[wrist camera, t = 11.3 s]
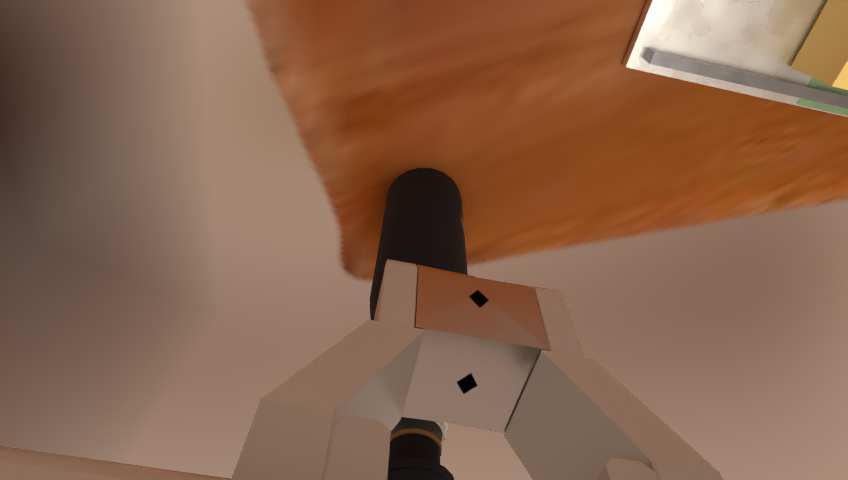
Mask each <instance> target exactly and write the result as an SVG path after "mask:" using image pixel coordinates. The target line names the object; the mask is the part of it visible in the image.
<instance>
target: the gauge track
mask: <svg viewBox="0 0 848 480" xmlns="http://www.w3.org/2000/svg"><path fill="white" fill-rule="evenodd" d="M827 1H828V0H647V1H646V4H645V6H644V9H643V12H642V14H641V17H640V19H639V22H638V24H637V27H636V29H635V32H634V34H633V37H632V39H631V42H630V45H629V47H628V50H627V52H626V55H625V57H624V60H623V62H622V64H623V65H624V66H625V67H627V68H632V69H636V70H641V71H645V72H650V73H654V74H659V75H663V76H667V77H672V78H676V79H681V80H685V81H690V82H694V83H699V84H703V85H707V86H712V87H716V88H721V89H725V90H730V91H734V92H739V93H743V94H747V95H752V96H756V97H761V98H765V99H770V100H774V101H779V102H783V103H787V104H792V105H796V106H801V107H805V108H810V109H814V110H819V111H823V112H828V113H832V114H836V115H841V116H845V117H848V90H845V89H841V88H837V87H832V86H830V85H828V84H826V83H823V82H821V81H819V80H817V79H815V78H813V77H810V76H808V75H806V74H804V73H802V72H800V71H798V70H795V69H793V68H791V65H792V63H793V62H794V60H795V58H796V56H797V55H798V53H799V51H800V49H801V47H802V46H803V44H804V42H805V40H806V38H807V37H808V35H809V33H810V31H811V29H812V28H813V26H814V24H815V22H816V20H817V19H818V17H819V15H820V13H821V12H822V10H823V8H824V6H825V4H826V3H827Z"/></svg>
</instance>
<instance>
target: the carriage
mask: <svg viewBox="0 0 848 480" xmlns="http://www.w3.org/2000/svg"><path fill="white" fill-rule="evenodd" d="M791 68H793V69H795V70H798V71H800V72H802V73H804V74H806V75H808V76H810V77H813V78H815V79H817V80H819V81H821V82H823V83H826V84H828V85H830V86H832V87H837V88H841V89H845V90H848V0H828V1H827V3H826V4H825V6H824V8H823V10H822V12H821V13H820V15H819V17H818V19H817V20H816V22H815V24H814V26H813V28H812V29H811V31H810V33H809V35H808V37H807V38H806V40H805V42H804V44H803V46H802V47H801V49H800V51H799V53H798V55H797V56H796V58H795V60H794V62H793V63H792V65H791Z"/></svg>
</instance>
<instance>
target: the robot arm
mask: <svg viewBox="0 0 848 480" xmlns="http://www.w3.org/2000/svg"><path fill="white" fill-rule="evenodd" d="M401 417H406V418H414V419H422V420H430V421H437V422H445V423H453V424H458V425H463V426H469V427H474V428H479V429H485V430H490V431H495V432H501V433H505V434H504V436H505V438H506V439H507V441H508V442H509V444H510V445H511V447H512V448H513V450H514V451H515V453H516V455H517V456H518V458H519V459H520V461H521V462H522V463H523V465H524V467H525V468H526V470H527V471H528V473H529V474H530V476H531V477H532V479H533V480H723V478H722V476H721V474H720V472H719V471H718V470H716V469H715V468H714V467H713V466H712V465H711V464H710V463H709V462H707V460H705V459H704V458H703V457H702V456H701V455H700V454H699V453H698V452H697V451H695V450H694V449H693V448H692V447H691V446H690V445H689V444H688V443H687V442H685V441H684V440H683V439H682V438H681V437H680V436H679V435H678V434H677V433H675V432H674V431H673V430H672V429H671V428H670V427H669V426H667V424H666V423H664V422H663V421H662V420H661V419H660V418H659V417H658V416H657V415H655V414H654V413H653V412H652V411H651V410H650V409H649V408H648V407H647V406H646V405H644V404H643V403H642V402H641V401H640V400H639V399H638V398H637V397H636V396H634V395H633V394H632V393H631V392H630V391H629V390H628V389H627V388H626V387H624V386H623V385H622V384H621V383H620V382H619V381H618V380H617V379H616V378H614V377H613V376H612V375H611V374H610V373H609V372H608V371H607V370H606V369H604V368H603V367H602V366H601V365H600V364H599V363H598V362H597V361H596V360H594V359H592V358H586V357H585V356H584V353H583V350H582V347H581V344H580V341H579V338H578V335H577V332H576V329H575V326H574V323H573V320H572V317H571V314H570V311H569V309H568V306H567V303H566V300H565V297H564V294H563V293H562V292H561V291H560V290H553V289H546V288H540V287H533V286H532V287H530V286H524V285H518V284H512V283H505V282H500V281H493V280H488V279H482V278H476V277H474V276H469V275H465V274H460V273H455V272H450V271H445V270H440V269H436V268H431V267H426V266H421V265H416V264H412V263H406V262H400V261H395V260H389V259H387V262H386V265H385V269H384V274H383V279H382V283H381V288H380V293H379V298H378V302H377V307H376V312H375V317H374V321H373V320H368V321H367V322H365V323H364V324H362V325H361V326H360V327H358V328H357V329H356V330H354V331H353V332H351V333H350V334H349V335H347V336H346V337H345V338H343V339H342V340H341V341H339V342H338V343H336V344H335V345H334V346H332V347H331V348H330V349H329V350H327V351H326V352H324V353H323V354H321V355H320V356H319V357H318V358H316V359H315V360H313V361H312V362H311V363H309V364H308V365H306V366H305V367H304V368H302V369H301V370H300V371H298V372H297V373H295V374H294V375H293V376H291V377H290V378H289V379H287V380H286V381H285V382H284V383H282V384H280V385H279V386H278V387H276V388H275V389H274V390H272V391H271V392H270V393H268V394H267V395H266V396H264V397H263V398H261V400H260V403H259V405H258V408H257V411H256V413H255V416H254V419H253V422H252V425H251V427H250V430H249V433H248V435H247V438H246V441H245V444H244V447H243V449H242V452H241V455H240V457H239V460H238V463H237V466H236V468H235V471H234V474H233V476H232V479H229V478H222V477H215V476H208V475H201V474H194V473H187V472H180V471H173V470H166V469H159V468H152V467H145V466H138V465H131V464H124V463H117V462H110V461H104V460H96V459H90V458H83V457H75V456H69V455H61V454H55V453H47V452H41V451H34V450H27V449H20V448H13V447H6V446H0V480H387V475H388V462H389V449H390V436H391V431H392V430H393V428H394V427H395V426H396V425H397V424H398V422H399V421H400V420H401Z"/></svg>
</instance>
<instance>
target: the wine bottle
mask: <svg viewBox="0 0 848 480" xmlns="http://www.w3.org/2000/svg"><path fill="white" fill-rule="evenodd" d="M387 259H389V260H395V261H400V262H406V263H412V264H416V265H421V266H426V267H431V268H436V269H440V270H445V271H450V272H455V273H460V274H465V275H468V274H467V261H466V249H465V237H464V225H463V213H462V201H461V196H460V192H459V189H458V187H457V186H456V184H455V183H454V182H453V180H452V179H451V178H449V177H448V176H447V175H445V174H444V173H442V172H439V171H436V170H433V169H422V168H419V169H415V170H411V171H408V172H406V173H405V174H403V175H401V176H400V177H398V178H397V179H396V181H395V182H394V183H393V184H392V185H391V188H390V190H389V193H388V195H387V201H386V207H385V213H384V219H383V225H382V231H381V236H380V242H379V248H378V254H377V260H376V266H375V272H374V278H373V284H372V289H371V295H370V314H371V315H370V316H371V320H373V321H374V317H375V312H376V307H377V302H378V298H379V293H380V288H381V283H382V279H383V274H384V269H385V265H386V262H387ZM447 431H448V423H445V422H437V421H430V420H422V419H414V418H406V417H401V420H400V421H399V422H398V424H397V425H396V426H395V427H394V428H393V430H392V431H391V436H390V449H389V462H388V475H387V480H454V478H453V475H452V474H451V473H450V472H449V471H448V470H447V469H446V468H445V467H443V466H442V465H440V456H441V445H442V443H443V441H444V439H445V435H446V433H447Z"/></svg>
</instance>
